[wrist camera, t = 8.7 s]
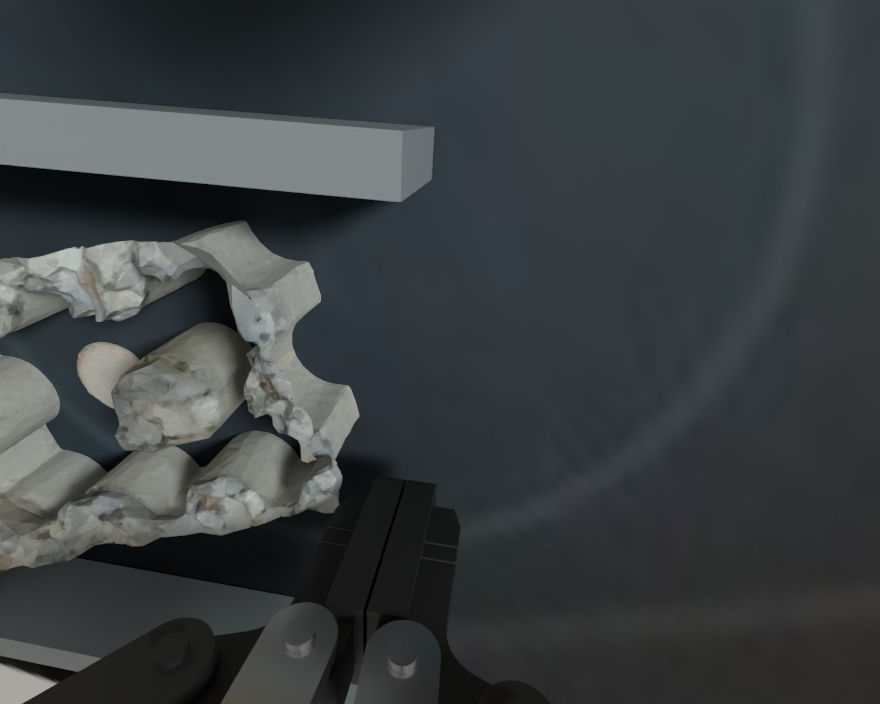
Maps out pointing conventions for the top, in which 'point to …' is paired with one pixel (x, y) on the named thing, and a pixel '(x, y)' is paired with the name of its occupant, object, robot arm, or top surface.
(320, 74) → the top surface
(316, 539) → the top surface
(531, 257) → the top surface
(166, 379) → the egg carton
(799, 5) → the top surface
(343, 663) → the robot arm
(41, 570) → the grey u-shaped frame
